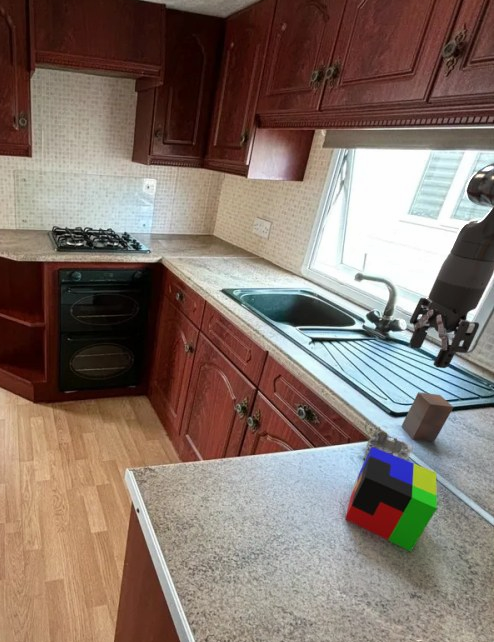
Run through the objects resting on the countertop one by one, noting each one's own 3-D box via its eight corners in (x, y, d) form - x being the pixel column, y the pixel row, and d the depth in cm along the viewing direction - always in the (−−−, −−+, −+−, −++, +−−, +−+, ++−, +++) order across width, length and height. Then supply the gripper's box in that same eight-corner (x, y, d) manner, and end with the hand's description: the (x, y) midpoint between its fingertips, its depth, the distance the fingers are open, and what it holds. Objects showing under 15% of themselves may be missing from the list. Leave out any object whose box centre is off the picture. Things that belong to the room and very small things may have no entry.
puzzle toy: (353, 486, 79) (371, 446, 75) (412, 513, 74) (436, 472, 70) (345, 519, 72) (365, 477, 67) (410, 551, 67) (437, 508, 62)
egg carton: (371, 438, 94) (378, 424, 92) (408, 456, 89) (416, 441, 87) (358, 459, 86) (365, 444, 85) (398, 479, 82) (406, 464, 80)
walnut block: (422, 428, 99) (440, 394, 95) (434, 442, 95) (453, 407, 90) (401, 426, 99) (418, 392, 95) (412, 439, 95) (430, 404, 90)
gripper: (512, 295, 69) (469, 376, 76) (456, 271, 81) (424, 343, 89) (467, 290, 69) (428, 372, 76) (418, 268, 82) (389, 339, 89)
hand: (426, 356), depth 82 cm, fingers open, 8 cm apart
